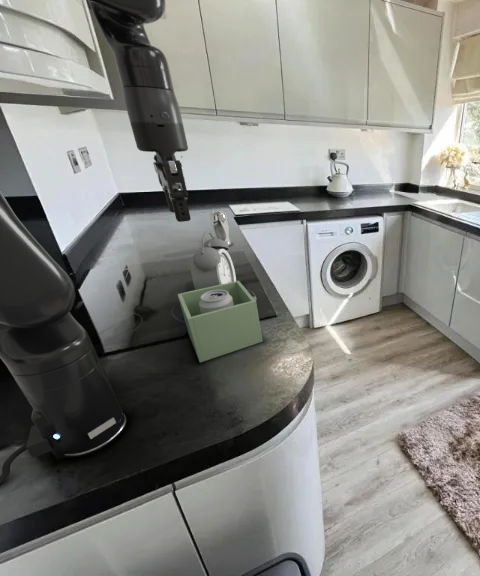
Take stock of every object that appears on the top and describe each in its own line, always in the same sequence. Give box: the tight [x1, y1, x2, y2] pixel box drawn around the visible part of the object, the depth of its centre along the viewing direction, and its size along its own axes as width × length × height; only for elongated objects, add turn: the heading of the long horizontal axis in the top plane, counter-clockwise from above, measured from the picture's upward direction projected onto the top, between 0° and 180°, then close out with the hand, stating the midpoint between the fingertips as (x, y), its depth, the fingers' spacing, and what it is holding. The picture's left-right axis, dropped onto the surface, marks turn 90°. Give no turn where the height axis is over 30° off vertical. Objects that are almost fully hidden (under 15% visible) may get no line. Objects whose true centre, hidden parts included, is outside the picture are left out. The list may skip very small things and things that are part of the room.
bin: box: [177, 280, 264, 363], centre depth 81 cm, size 15×15×12 cm
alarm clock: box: [190, 231, 237, 290], centre depth 97 cm, size 16×9×22 cm, turn 12°
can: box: [199, 290, 234, 314], centre depth 81 cm, size 8×8×12 cm
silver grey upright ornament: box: [209, 210, 232, 247], centre depth 146 cm, size 7×7×15 cm
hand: (180, 216), depth 61 cm, fingers open, 8 cm apart
